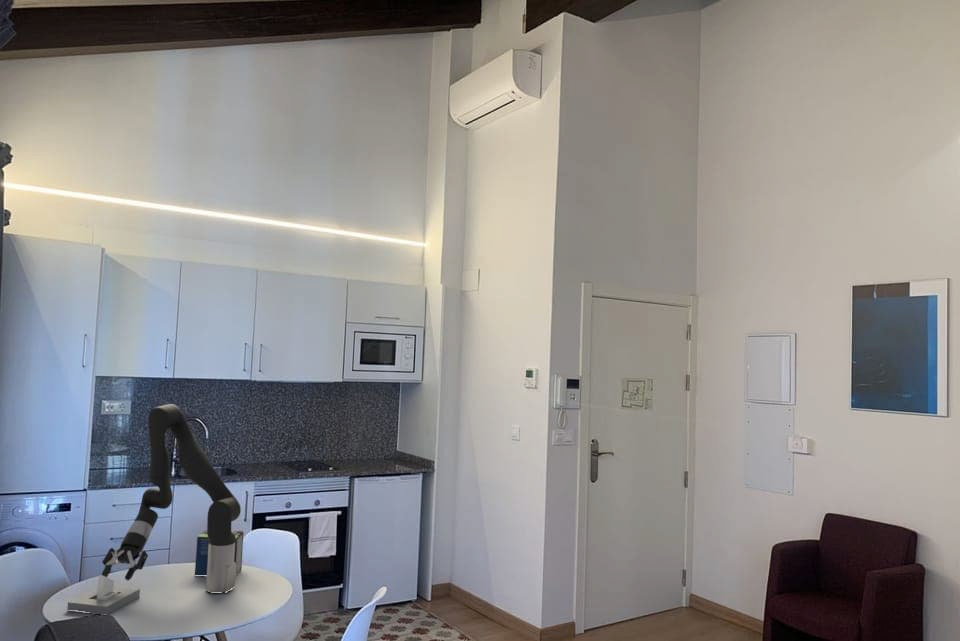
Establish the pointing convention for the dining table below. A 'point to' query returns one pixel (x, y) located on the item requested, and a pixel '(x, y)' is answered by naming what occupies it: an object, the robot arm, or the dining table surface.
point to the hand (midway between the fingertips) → (115, 578)
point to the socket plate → (101, 606)
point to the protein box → (203, 552)
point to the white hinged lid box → (105, 588)
